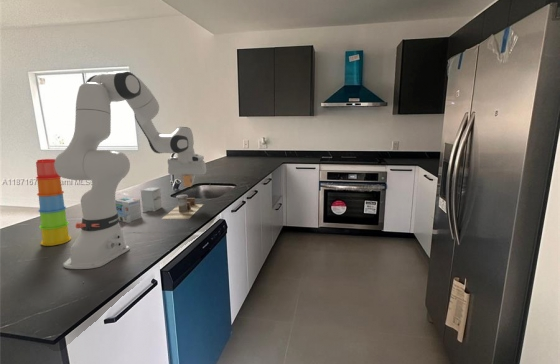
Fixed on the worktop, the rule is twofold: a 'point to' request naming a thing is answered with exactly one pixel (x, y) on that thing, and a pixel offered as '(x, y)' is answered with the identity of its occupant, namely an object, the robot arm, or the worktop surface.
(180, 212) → the winding board
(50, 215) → the stacking cups
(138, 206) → the light bulb box
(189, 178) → the tab
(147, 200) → the supplement box
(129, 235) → the worktop surface
